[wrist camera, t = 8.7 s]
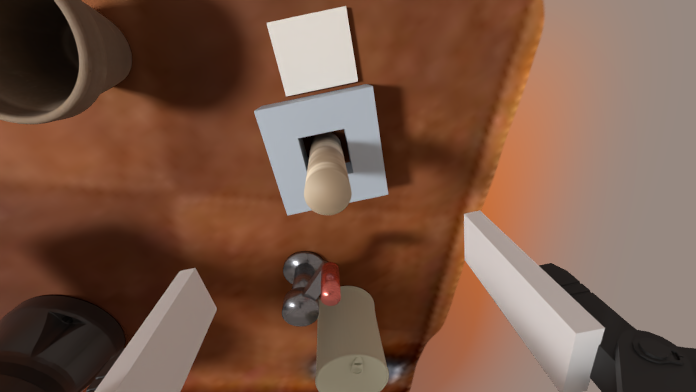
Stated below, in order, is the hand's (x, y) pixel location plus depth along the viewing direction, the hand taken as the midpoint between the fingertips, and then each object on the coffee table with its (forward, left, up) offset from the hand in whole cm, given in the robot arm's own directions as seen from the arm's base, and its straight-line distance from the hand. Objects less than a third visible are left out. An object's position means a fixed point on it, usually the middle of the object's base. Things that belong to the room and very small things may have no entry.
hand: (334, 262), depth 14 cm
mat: (+1, +10, -22) cm, 25 cm away
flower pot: (-20, +14, -23) cm, 34 cm away
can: (-3, -26, -23) cm, 35 cm away
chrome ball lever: (-5, -15, -16) cm, 22 cm away
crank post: (-7, -17, -22) cm, 29 cm away
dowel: (0, 0, -22) cm, 22 cm away
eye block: (0, 0, -22) cm, 22 cm away
